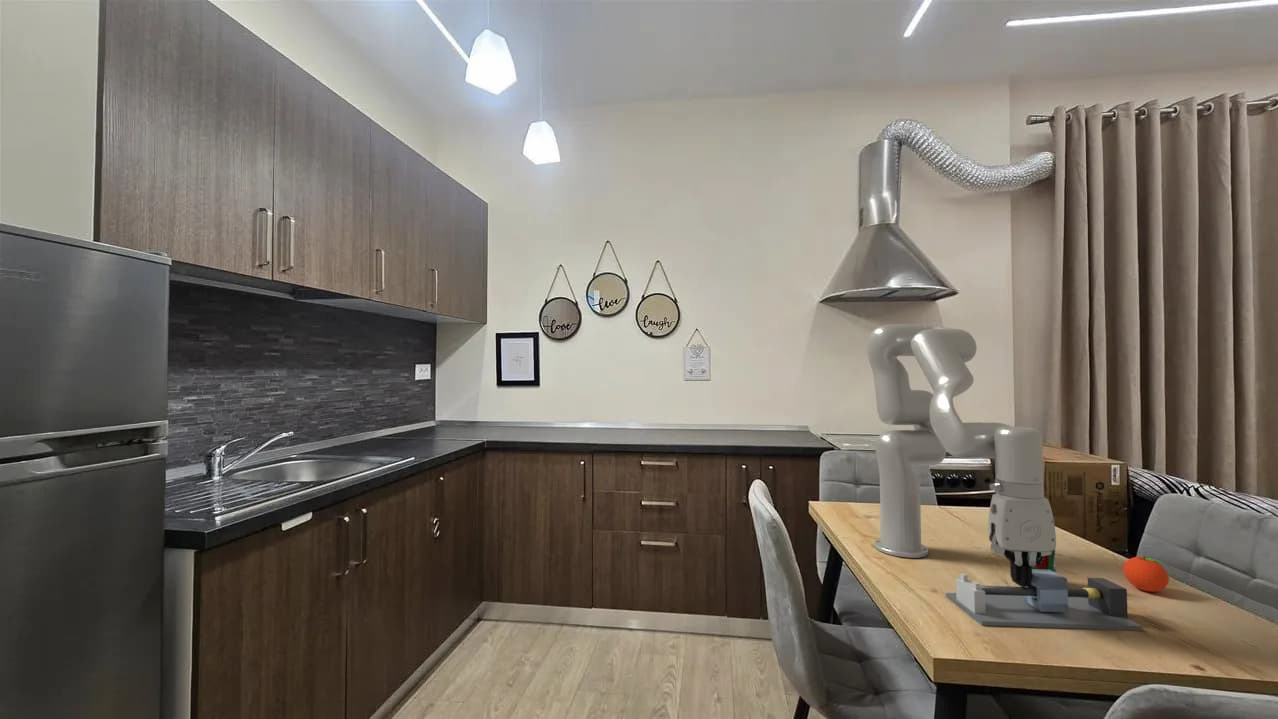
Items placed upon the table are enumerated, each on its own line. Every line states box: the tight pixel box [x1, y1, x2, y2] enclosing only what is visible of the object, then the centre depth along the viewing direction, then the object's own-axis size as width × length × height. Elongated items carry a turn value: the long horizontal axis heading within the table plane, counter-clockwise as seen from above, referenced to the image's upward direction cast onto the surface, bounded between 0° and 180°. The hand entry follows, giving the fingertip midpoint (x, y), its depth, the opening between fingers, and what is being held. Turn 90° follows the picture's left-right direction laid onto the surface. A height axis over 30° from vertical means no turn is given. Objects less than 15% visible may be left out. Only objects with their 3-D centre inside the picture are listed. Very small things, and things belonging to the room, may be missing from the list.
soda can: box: [1032, 549, 1057, 573], centre depth 111 cm, size 5×5×12 cm
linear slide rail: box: [945, 573, 1144, 632], centre depth 96 cm, size 28×12×6 cm, turn 86°
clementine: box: [1122, 556, 1174, 593], centre depth 106 cm, size 8×7×7 cm
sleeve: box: [1024, 569, 1069, 612], centre depth 96 cm, size 5×4×6 cm
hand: (1021, 583), depth 97 cm, fingers closed
